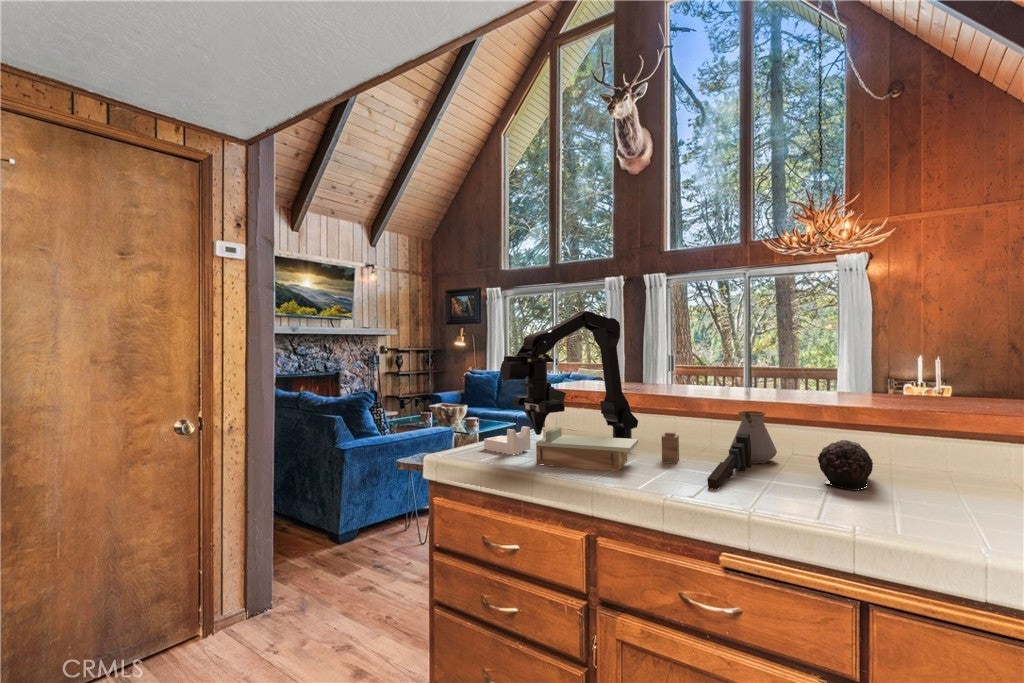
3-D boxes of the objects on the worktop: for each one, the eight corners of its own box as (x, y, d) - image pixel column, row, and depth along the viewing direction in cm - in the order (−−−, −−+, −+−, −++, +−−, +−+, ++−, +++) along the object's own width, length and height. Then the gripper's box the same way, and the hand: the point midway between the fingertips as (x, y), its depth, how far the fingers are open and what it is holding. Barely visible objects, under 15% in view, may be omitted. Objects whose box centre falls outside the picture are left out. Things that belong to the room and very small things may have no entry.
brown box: (551, 455, 152) (550, 438, 152) (627, 460, 144) (627, 442, 144) (535, 465, 141) (535, 446, 141) (617, 472, 132) (617, 452, 132)
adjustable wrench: (708, 508, 118) (741, 463, 137) (720, 510, 116) (752, 465, 135) (705, 473, 116) (738, 433, 135) (717, 475, 115) (749, 434, 133)
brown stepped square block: (664, 459, 145) (663, 430, 145) (679, 460, 143) (678, 431, 143) (662, 462, 141) (661, 433, 141) (677, 463, 140) (677, 434, 140)
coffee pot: (732, 454, 149) (731, 401, 149) (778, 457, 144) (777, 402, 144) (722, 471, 131) (721, 411, 131) (773, 476, 125) (772, 413, 125)
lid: (550, 437, 152) (550, 426, 152) (638, 442, 143) (637, 430, 143) (536, 445, 141) (535, 433, 141) (629, 451, 132) (629, 438, 132)
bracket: (530, 452, 158) (530, 427, 158) (513, 456, 154) (513, 430, 154) (501, 446, 168) (500, 422, 168) (484, 450, 163) (483, 425, 163)
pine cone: (870, 475, 125) (869, 433, 125) (875, 495, 109) (874, 447, 109) (819, 470, 130) (818, 429, 130) (817, 488, 115) (816, 442, 115)
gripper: (580, 379, 143) (581, 436, 143) (543, 375, 160) (544, 427, 160) (545, 381, 138) (547, 441, 138) (511, 377, 154) (512, 431, 154)
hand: (538, 434), depth 148 cm, fingers closed
